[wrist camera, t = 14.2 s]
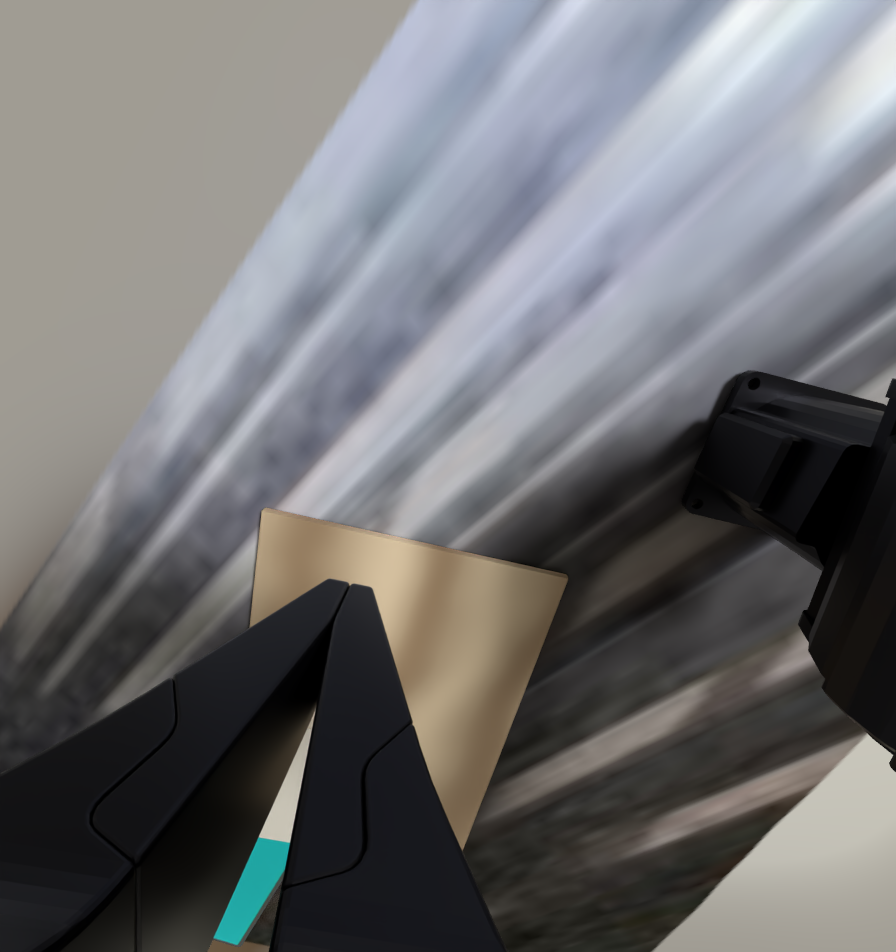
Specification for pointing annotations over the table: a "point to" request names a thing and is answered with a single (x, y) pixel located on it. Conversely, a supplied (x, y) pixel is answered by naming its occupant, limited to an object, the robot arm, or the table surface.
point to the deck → (288, 796)
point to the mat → (429, 634)
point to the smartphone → (253, 890)
